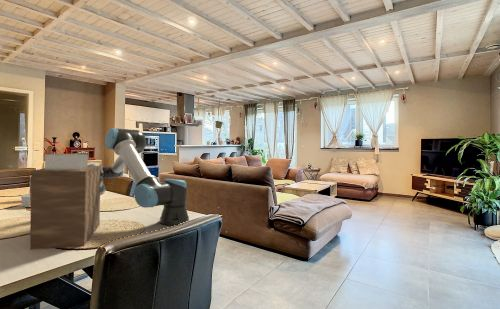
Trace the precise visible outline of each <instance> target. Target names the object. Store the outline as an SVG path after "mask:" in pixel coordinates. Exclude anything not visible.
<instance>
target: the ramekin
mask: <svg viewBox="0 0 500 309" xmlns="http://www.w3.org/2000/svg"><path fill="white" fill-rule="evenodd" d="M30 194H31V193H27V194H22V195H21V196H20V199H21V205H22V207H23V208H26V207H29V206H30V197H29V195H30Z"/></svg>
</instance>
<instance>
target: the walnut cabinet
mask: <svg viewBox="0 0 500 309" xmlns="http://www.w3.org/2000/svg"><path fill="white" fill-rule="evenodd" d="M100 175H101V166H100V165H98V166H88V168H85V169H82V170H45V167H43V168H39V169H35V170H31V171H30V194H31V208H30V231H29V232H30V234H29V235H30V237H29V238H30V239H29V241H30V242H29V247H30V248H29V250H31V251H32V250H42V249H45V250H46V249H59V248H68V247H69V248H70V247H72V248H73V246H74V247H84V246H86V244H87V242H88V241H89V240H90V239H91V237H92V236H93V235H94V234H95V232H96V231H97V230H98V228H99V227H100V214H101V208H100V207H101V195H100Z"/></svg>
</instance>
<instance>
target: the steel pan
mask: <svg viewBox="0 0 500 309" xmlns="http://www.w3.org/2000/svg"><path fill="white" fill-rule="evenodd" d="M63 154H64V153H52V154H44V168H45V170H82V169H85V168H88V165H89V164H88V161H89V160H88V159H89V152H76V153H66V154H67V155H63Z"/></svg>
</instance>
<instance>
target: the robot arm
mask: <svg viewBox="0 0 500 309" xmlns="http://www.w3.org/2000/svg"><path fill="white" fill-rule="evenodd" d="M104 139H105V140H104V142H105V147H106V149H108V150H112V151H113V152H114V153H115V154H116V155H117V156H118V157H117V158H116V159H115V161H114V162H113V163H112V164H111V165H110V166H104V165H103V163H100V164H98V163H91V164H88V166H101V175H100V196H101V195H103V194H104V193H105V192H106V185H105V184H104V181H105V180H107V179H113V178H114V179H117V178H121V177H123V176H124V172H125V171H124V170H125V168H127V170H128V172H129V174H130V175H131V177H132V179H133V181H134V182H135V187H134V191H133V195H134V200H135V202H136V204H137V205H138V206H139V207H141V208H144V209H145V208H147V209H148V208H154V207H159V206H163V209H162V211H161V216H160V217H159V223H160V224H161V225H164V226H178V225H177V224H180V223H183V222H186V221H189V222H190V218H189V215H188V211H187V192H188V191H187V182H186V180H184V179H176V178H175V179H174V178H165V179H164V181H160V180H159V179H158V177H157V176H155V175H152V174H151V172H150V170H149V168H148V166H147V165H146V163H145V162H144V160H143V159H142V157H141V156H140V154H141V153H142V152H143V151H144V150H145V148H146V146H147V138H146V136H145V135H144V133H143V132H142V131H140V130H136V129H128V128H117V127H115V128H114V127H113V128H110V129H108V130H107V132H106V134H105V137H104Z"/></svg>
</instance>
